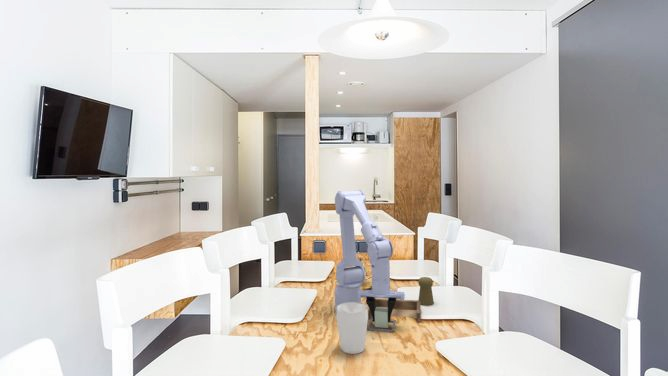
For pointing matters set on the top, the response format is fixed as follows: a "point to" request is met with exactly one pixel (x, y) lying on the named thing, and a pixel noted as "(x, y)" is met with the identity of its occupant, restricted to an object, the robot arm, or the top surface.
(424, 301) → the cork
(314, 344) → the top surface
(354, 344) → the cup
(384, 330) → the gray square frame
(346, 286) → the robot arm
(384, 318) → the sage block
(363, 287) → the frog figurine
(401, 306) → the brown wooden box
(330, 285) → the top surface
